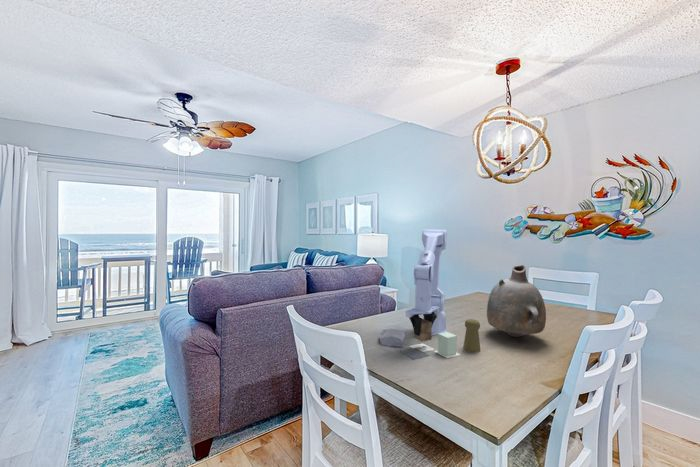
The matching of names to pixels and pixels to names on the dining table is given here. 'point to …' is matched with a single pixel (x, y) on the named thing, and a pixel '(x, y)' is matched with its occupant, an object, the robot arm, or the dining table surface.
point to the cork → (472, 336)
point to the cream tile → (422, 347)
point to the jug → (516, 305)
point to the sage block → (447, 343)
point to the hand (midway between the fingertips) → (422, 333)
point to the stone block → (392, 337)
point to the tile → (446, 356)
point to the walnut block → (424, 331)
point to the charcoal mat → (414, 353)
